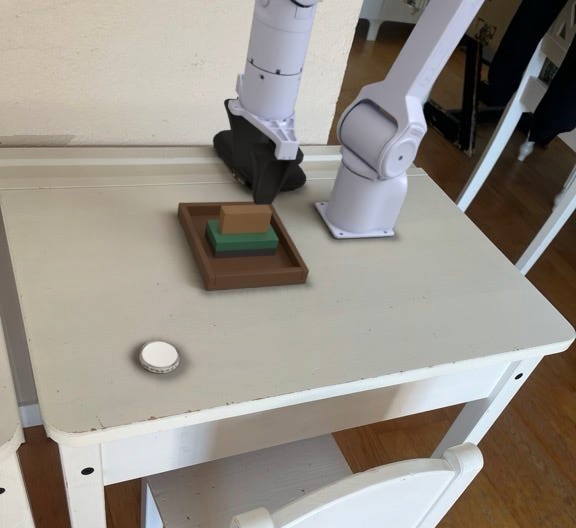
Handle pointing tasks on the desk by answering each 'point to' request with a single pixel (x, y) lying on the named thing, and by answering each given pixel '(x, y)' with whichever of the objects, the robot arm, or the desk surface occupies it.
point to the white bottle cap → (159, 356)
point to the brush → (242, 232)
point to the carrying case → (246, 174)
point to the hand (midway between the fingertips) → (252, 183)
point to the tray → (240, 270)
